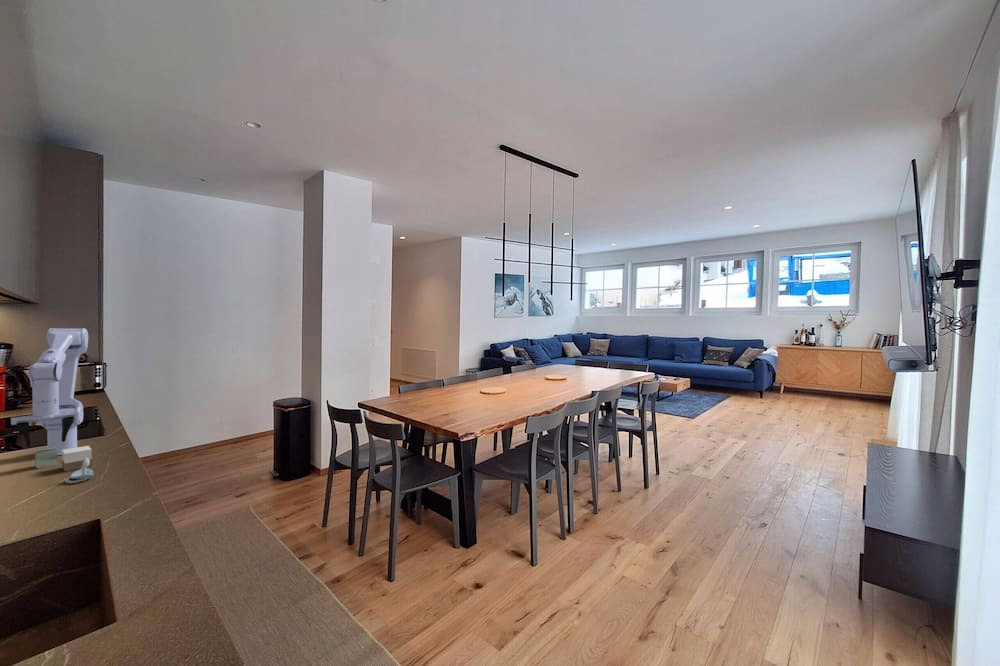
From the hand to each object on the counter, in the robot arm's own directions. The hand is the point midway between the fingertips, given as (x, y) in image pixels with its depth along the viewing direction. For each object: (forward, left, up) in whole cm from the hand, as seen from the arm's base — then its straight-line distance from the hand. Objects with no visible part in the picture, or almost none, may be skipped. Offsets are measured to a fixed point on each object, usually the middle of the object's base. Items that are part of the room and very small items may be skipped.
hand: (46, 443), depth 135 cm
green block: (0, 0, -7) cm, 7 cm away
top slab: (+9, +6, -4) cm, 12 cm away
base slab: (+9, +6, -7) cm, 13 cm away
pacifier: (+24, +5, -7) cm, 26 cm away
